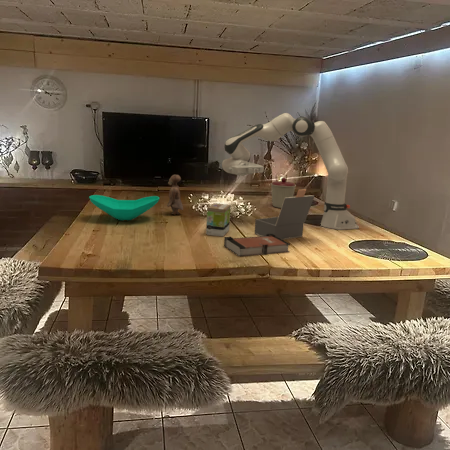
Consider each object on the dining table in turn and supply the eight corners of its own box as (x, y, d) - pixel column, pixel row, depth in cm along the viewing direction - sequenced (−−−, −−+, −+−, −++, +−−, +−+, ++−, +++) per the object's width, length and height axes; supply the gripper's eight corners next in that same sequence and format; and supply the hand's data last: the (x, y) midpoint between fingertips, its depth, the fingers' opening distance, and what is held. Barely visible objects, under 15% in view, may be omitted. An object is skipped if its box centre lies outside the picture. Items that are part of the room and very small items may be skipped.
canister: (298, 207, 318) (300, 178, 313) (287, 210, 303) (290, 180, 298) (275, 203, 327) (277, 175, 322) (264, 207, 312) (266, 177, 307)
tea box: (224, 236, 228) (225, 208, 224) (205, 235, 229) (206, 207, 226) (229, 230, 242) (231, 203, 238) (212, 228, 244) (213, 202, 240)
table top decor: (86, 224, 239) (85, 200, 236) (93, 213, 265) (92, 192, 262) (159, 225, 245) (159, 202, 242) (159, 214, 272) (159, 193, 269)
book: (239, 258, 195) (240, 247, 194) (224, 247, 211) (224, 237, 209) (290, 253, 206) (290, 243, 205) (271, 243, 221) (272, 233, 220)
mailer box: (282, 229, 248) (283, 216, 246) (302, 236, 235) (303, 222, 233) (254, 233, 236) (255, 219, 234) (274, 241, 224) (275, 225, 222)
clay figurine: (168, 211, 281) (168, 172, 275) (183, 212, 282) (184, 173, 276) (166, 216, 269) (166, 175, 263) (182, 216, 269) (183, 176, 263)
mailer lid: (316, 188, 224) (317, 189, 223) (303, 221, 233) (304, 222, 233) (287, 190, 212) (288, 191, 212) (275, 225, 222) (276, 226, 221)
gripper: (227, 162, 250) (241, 165, 239) (255, 162, 262) (270, 164, 251) (226, 173, 251) (241, 177, 240) (254, 172, 263) (269, 175, 252)
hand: (256, 170), depth 246 cm, fingers closed
